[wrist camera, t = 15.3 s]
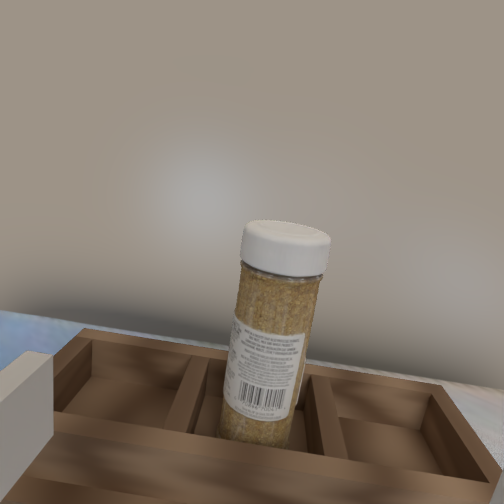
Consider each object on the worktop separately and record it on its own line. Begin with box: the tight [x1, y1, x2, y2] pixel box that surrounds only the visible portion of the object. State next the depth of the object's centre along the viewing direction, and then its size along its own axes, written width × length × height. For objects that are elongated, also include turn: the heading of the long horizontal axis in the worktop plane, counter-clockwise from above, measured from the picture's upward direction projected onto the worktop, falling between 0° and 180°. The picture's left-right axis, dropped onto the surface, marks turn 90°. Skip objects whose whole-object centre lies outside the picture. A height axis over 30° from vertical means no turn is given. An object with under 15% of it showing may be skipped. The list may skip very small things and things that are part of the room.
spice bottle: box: [216, 220, 331, 450], centre depth 21 cm, size 5×5×13 cm
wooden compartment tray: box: [0, 328, 502, 504], centre depth 22 cm, size 28×12×4 cm, turn 86°
